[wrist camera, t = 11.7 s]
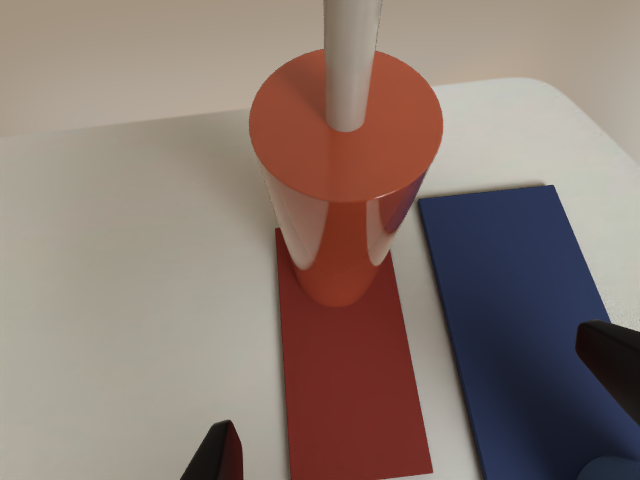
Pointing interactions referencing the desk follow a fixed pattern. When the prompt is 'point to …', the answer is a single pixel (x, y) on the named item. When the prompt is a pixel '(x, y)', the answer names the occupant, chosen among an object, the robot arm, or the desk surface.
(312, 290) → the orange red candle
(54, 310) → the desk surface
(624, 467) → the slate blue jar
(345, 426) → the oxblood mat
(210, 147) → the desk surface
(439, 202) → the navy mat
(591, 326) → the robot arm
